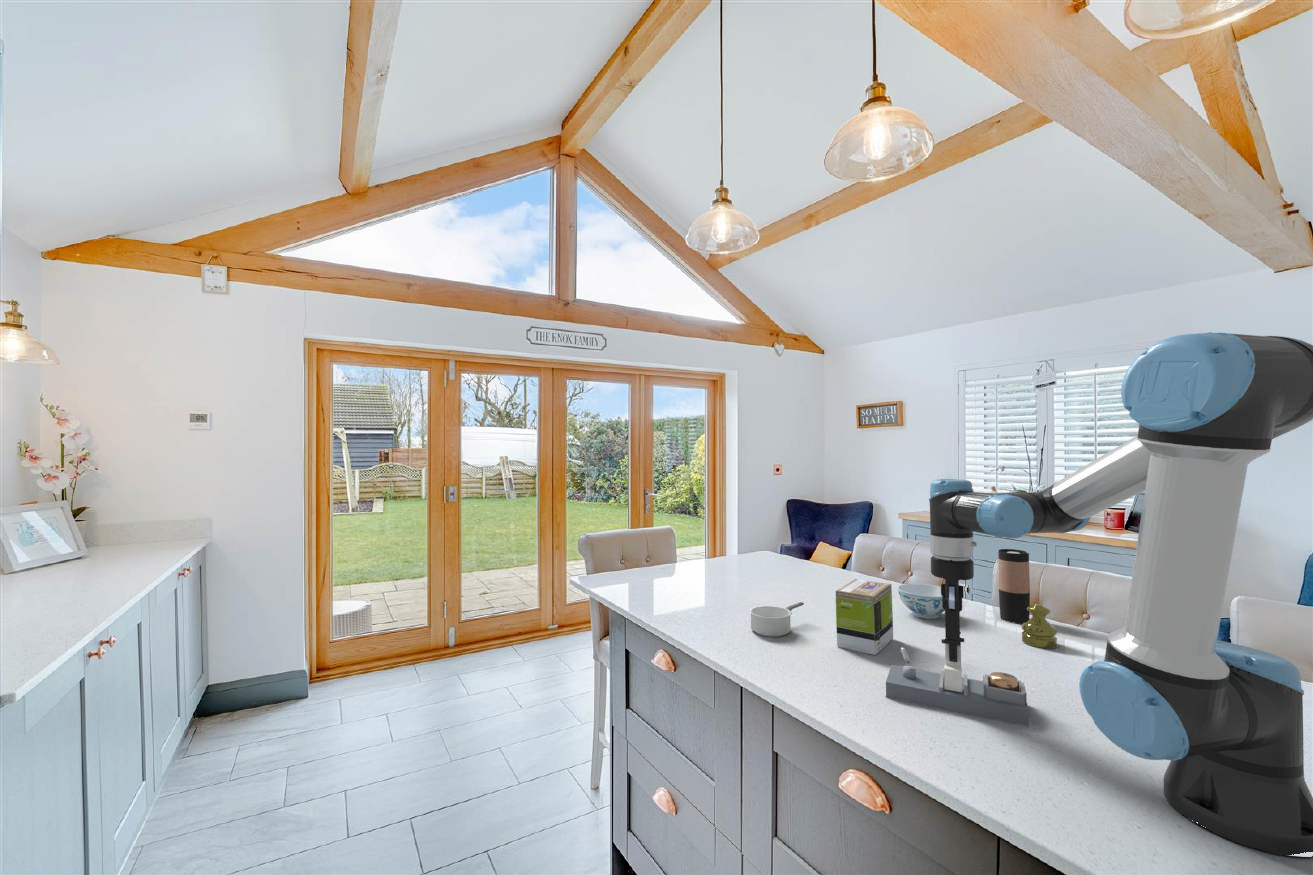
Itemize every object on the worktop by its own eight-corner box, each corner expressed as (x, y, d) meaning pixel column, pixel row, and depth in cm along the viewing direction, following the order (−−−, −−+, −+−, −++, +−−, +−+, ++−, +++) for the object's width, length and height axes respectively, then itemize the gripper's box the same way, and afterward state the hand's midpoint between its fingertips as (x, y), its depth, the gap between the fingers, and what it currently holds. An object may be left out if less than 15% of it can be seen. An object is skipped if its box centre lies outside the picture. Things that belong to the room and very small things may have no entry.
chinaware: (887, 610, 168) (886, 585, 168) (926, 606, 172) (925, 581, 172) (924, 625, 153) (924, 598, 154) (965, 620, 158) (965, 593, 158)
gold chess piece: (1057, 651, 134) (1056, 610, 134) (1020, 644, 138) (1020, 605, 139) (1057, 642, 140) (1056, 603, 140) (1022, 636, 144) (1022, 599, 144)
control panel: (1028, 726, 98) (1028, 698, 98) (886, 696, 110) (885, 671, 110) (1023, 703, 107) (1023, 678, 107) (891, 678, 119) (891, 655, 119)
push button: (1018, 696, 101) (1018, 683, 101) (991, 691, 103) (990, 678, 103) (1016, 687, 105) (1016, 674, 105) (990, 683, 107) (989, 670, 107)
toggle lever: (910, 663, 112) (904, 648, 112) (905, 663, 112) (899, 648, 113) (910, 661, 113) (905, 646, 113) (905, 662, 113) (900, 647, 114)
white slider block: (962, 692, 104) (961, 671, 105) (944, 689, 106) (944, 668, 106) (962, 688, 106) (961, 667, 106) (944, 685, 108) (944, 664, 108)
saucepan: (819, 626, 154) (819, 606, 154) (773, 642, 141) (773, 620, 142) (786, 616, 163) (786, 598, 163) (740, 630, 150) (740, 610, 151)
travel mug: (993, 617, 160) (992, 550, 161) (1009, 614, 164) (1008, 548, 164) (1019, 625, 153) (1018, 554, 154) (1036, 621, 157) (1035, 552, 157)
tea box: (856, 631, 149) (855, 577, 149) (894, 639, 143) (893, 583, 143) (835, 647, 138) (834, 588, 138) (876, 656, 131) (875, 595, 131)
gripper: (973, 564, 101) (976, 693, 100) (973, 552, 112) (974, 667, 111) (928, 560, 104) (930, 684, 104) (932, 549, 116) (934, 661, 115)
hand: (953, 675), depth 108 cm, fingers closed
